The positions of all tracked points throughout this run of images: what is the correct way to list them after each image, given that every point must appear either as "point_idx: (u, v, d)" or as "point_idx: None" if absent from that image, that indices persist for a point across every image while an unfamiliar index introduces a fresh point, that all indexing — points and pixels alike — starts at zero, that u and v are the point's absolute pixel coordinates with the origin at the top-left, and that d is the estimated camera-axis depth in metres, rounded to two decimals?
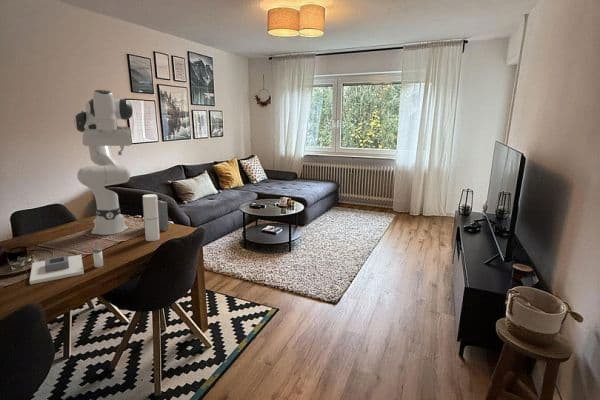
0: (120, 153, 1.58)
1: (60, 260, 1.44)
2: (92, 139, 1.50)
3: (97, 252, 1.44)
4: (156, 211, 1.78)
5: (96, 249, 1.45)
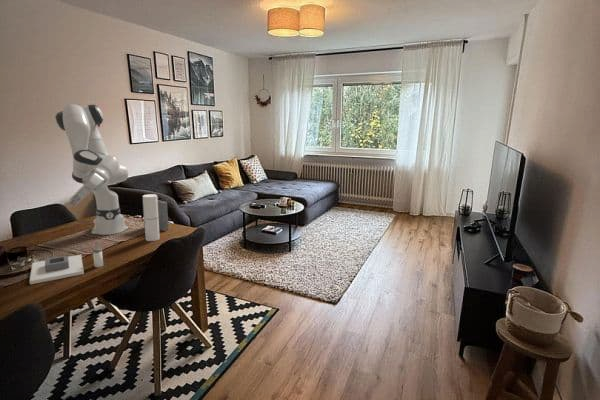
0: None
1: (60, 260, 1.44)
2: None
3: (97, 252, 1.44)
4: (156, 211, 1.78)
5: (96, 249, 1.45)
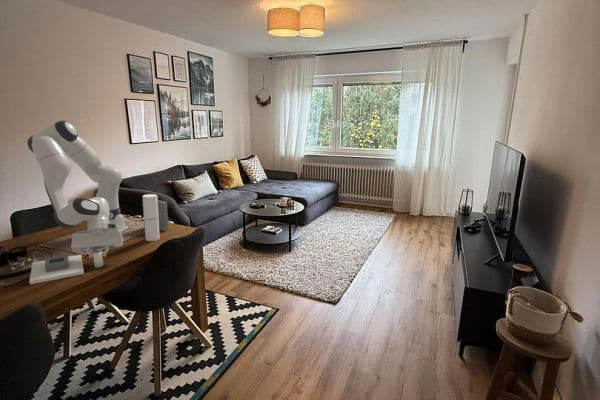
0: None
1: (60, 260, 1.44)
2: None
3: (97, 252, 1.44)
4: (156, 211, 1.78)
5: (96, 249, 1.45)
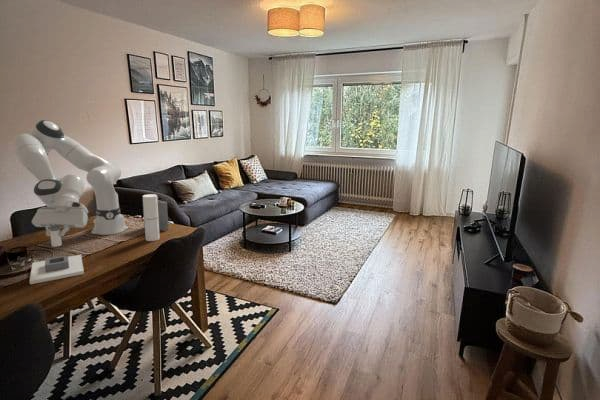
0: None
1: (60, 260, 1.44)
2: None
3: (53, 230, 1.36)
4: (156, 211, 1.78)
5: (53, 227, 1.37)
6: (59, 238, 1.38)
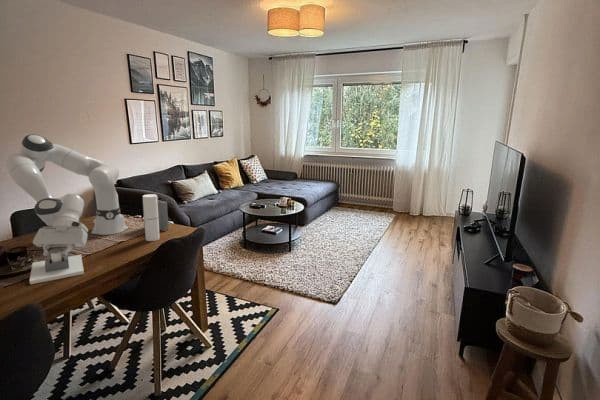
0: None
1: None
2: None
3: (53, 253, 1.38)
4: (156, 211, 1.78)
5: (54, 249, 1.39)
6: (60, 260, 1.40)
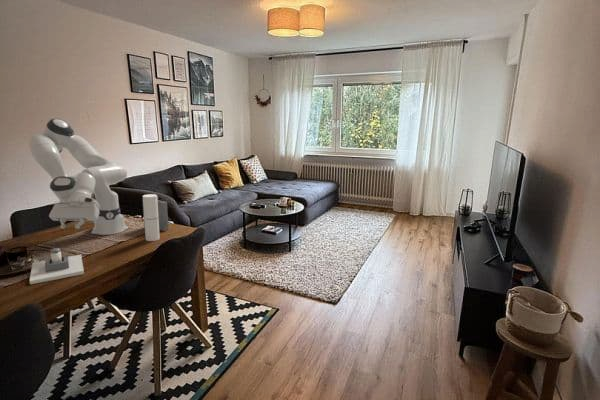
0: None
1: None
2: None
3: (53, 253, 1.38)
4: (156, 211, 1.78)
5: (54, 249, 1.39)
6: (60, 260, 1.40)
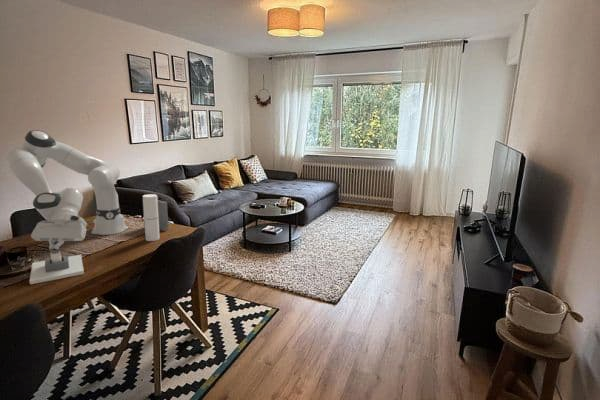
0: None
1: None
2: None
3: (53, 253, 1.38)
4: (156, 211, 1.78)
5: None
6: (59, 260, 1.40)
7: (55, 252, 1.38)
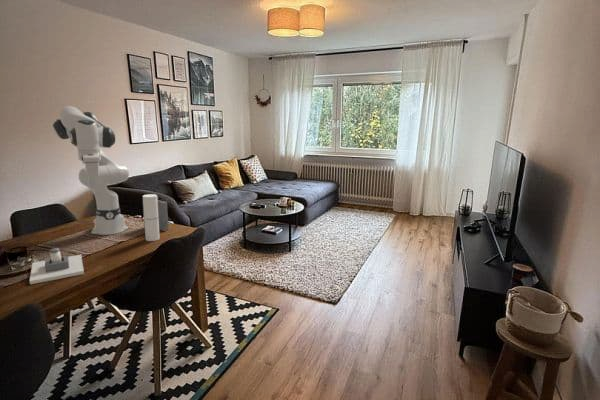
0: None
1: None
2: None
3: (52, 253, 1.38)
4: (156, 211, 1.78)
5: (53, 249, 1.39)
6: (59, 260, 1.40)
7: (54, 252, 1.38)
